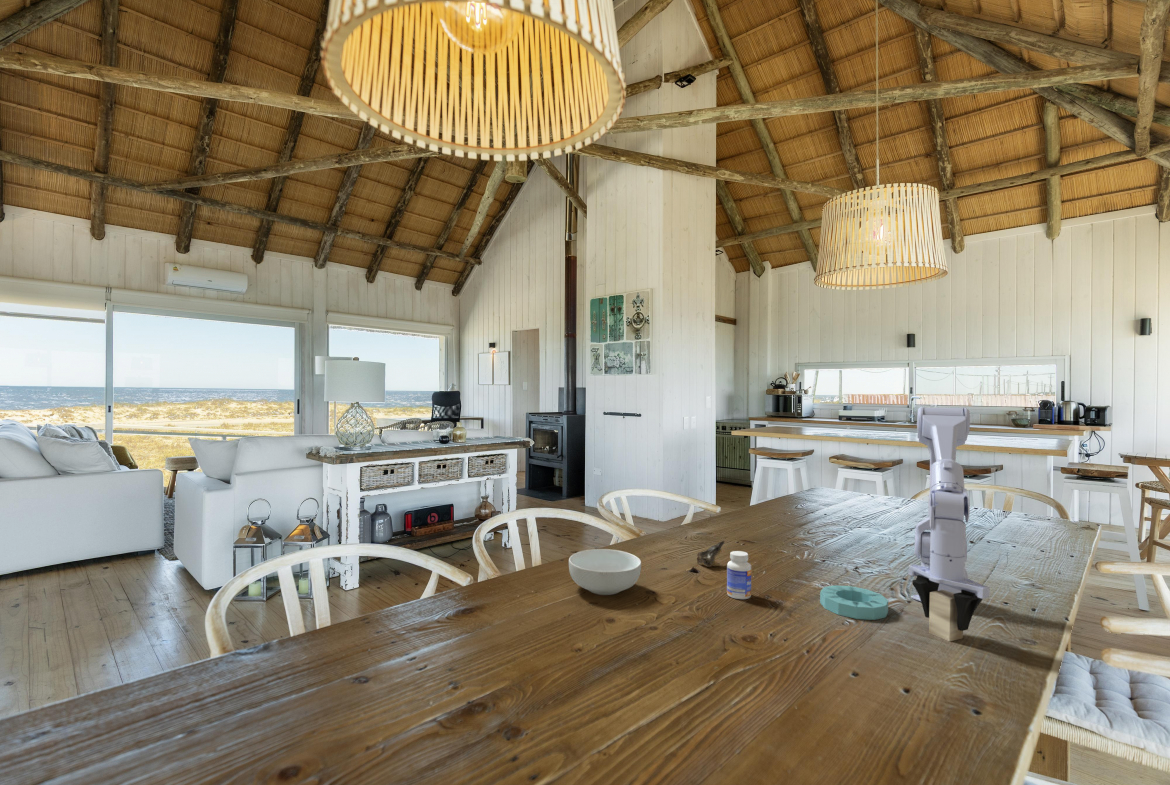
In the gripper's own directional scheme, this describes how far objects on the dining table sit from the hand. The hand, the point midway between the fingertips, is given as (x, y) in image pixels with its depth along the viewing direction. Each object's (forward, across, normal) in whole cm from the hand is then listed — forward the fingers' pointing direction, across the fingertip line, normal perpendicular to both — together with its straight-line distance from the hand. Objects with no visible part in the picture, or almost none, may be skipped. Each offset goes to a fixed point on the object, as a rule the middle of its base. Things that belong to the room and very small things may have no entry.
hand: (945, 622), depth 109 cm
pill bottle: (+3, -32, -24) cm, 40 cm away
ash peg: (+2, 0, 0) cm, 2 cm away
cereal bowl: (+3, -47, -51) cm, 69 cm away
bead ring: (+2, -17, -5) cm, 18 cm away
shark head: (+3, -52, -16) cm, 55 cm away
